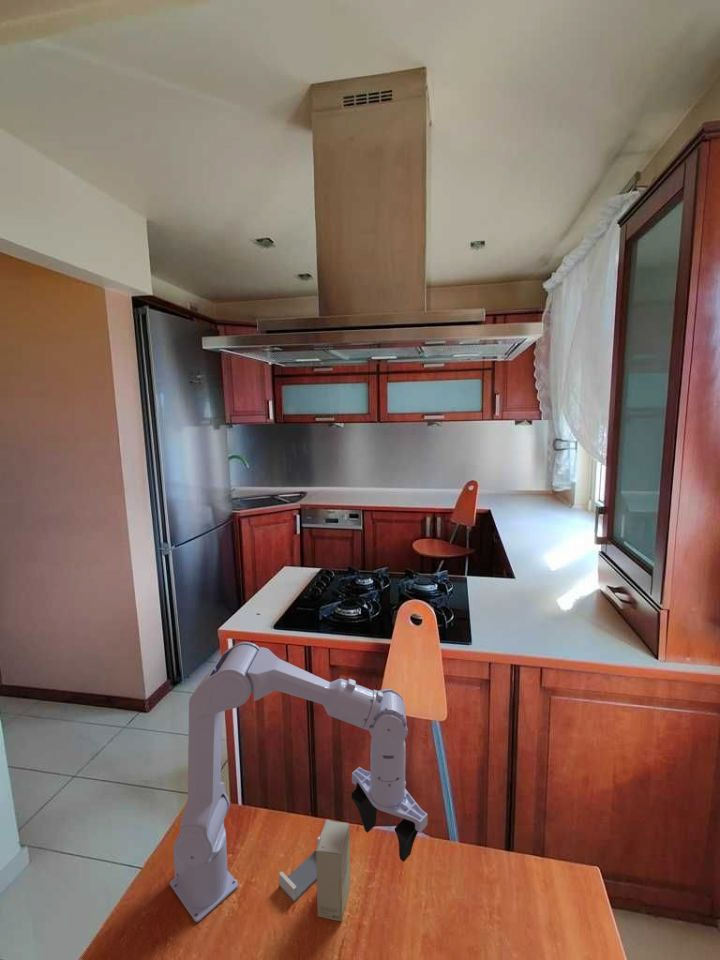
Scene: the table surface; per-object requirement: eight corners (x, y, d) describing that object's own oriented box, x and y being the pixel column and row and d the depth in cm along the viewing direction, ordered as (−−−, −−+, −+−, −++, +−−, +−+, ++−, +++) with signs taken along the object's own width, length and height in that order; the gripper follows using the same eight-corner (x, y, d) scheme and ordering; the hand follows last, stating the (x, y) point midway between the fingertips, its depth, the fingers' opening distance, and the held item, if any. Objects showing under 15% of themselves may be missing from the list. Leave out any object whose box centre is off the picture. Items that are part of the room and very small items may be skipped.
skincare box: (342, 923, 73) (342, 856, 71) (316, 917, 74) (315, 851, 72) (350, 884, 79) (350, 822, 78) (326, 879, 80) (325, 817, 78)
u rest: (279, 886, 79) (278, 873, 78) (319, 848, 86) (319, 836, 86) (294, 902, 76) (293, 889, 76) (334, 861, 83) (334, 849, 83)
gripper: (438, 777, 72) (437, 852, 74) (370, 735, 82) (370, 802, 84) (412, 804, 67) (411, 884, 69) (343, 756, 77) (343, 827, 79)
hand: (387, 841), depth 76 cm, fingers open, 7 cm apart
